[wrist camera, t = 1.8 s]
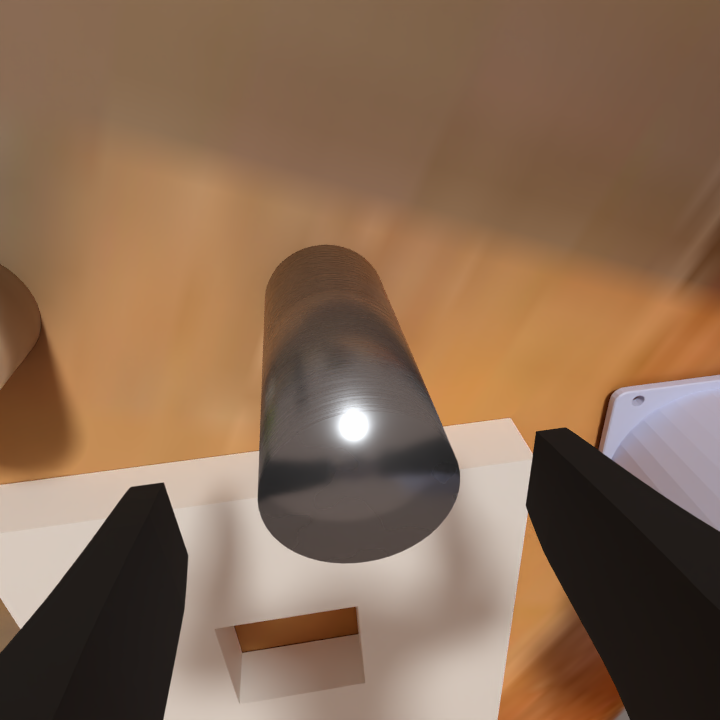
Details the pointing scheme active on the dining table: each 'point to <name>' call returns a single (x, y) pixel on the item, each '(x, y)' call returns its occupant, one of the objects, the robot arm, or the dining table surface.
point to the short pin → (16, 323)
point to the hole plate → (306, 589)
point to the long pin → (345, 417)
